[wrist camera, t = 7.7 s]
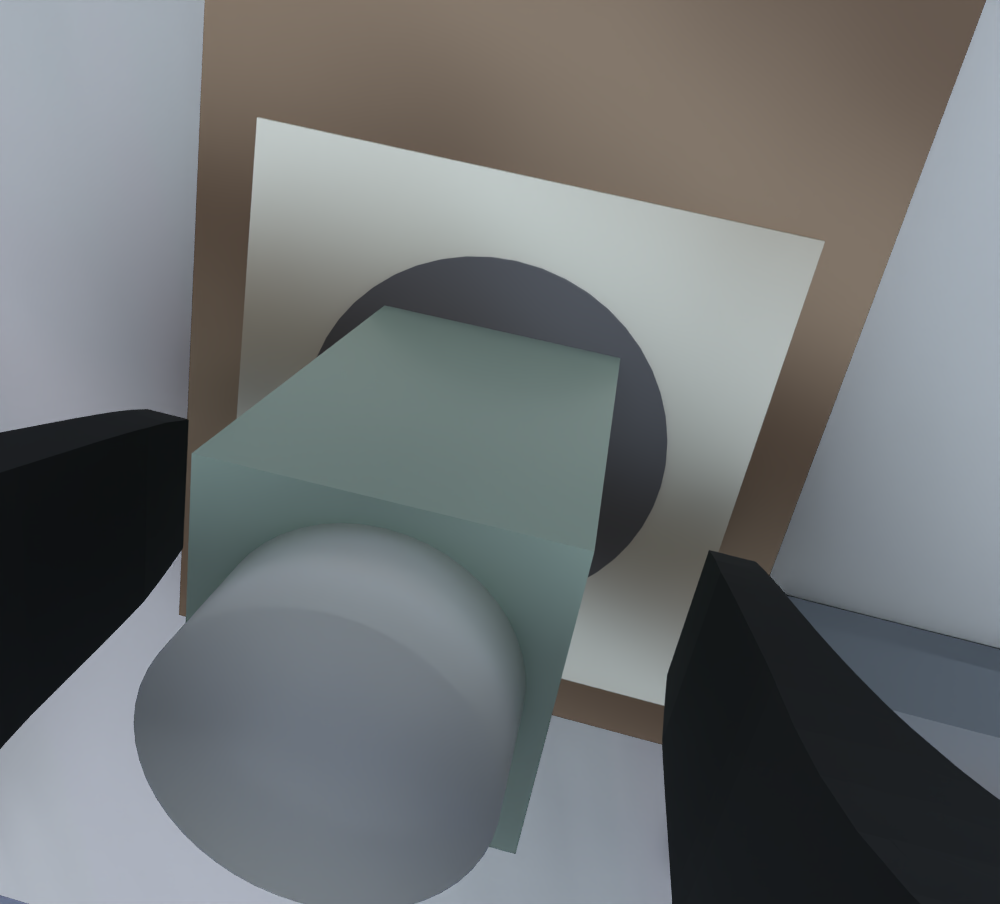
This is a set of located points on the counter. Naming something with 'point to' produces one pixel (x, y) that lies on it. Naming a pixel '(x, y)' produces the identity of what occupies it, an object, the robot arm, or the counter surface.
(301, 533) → the green square bottle
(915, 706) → the button housing
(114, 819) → the counter surface
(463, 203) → the drawing board
